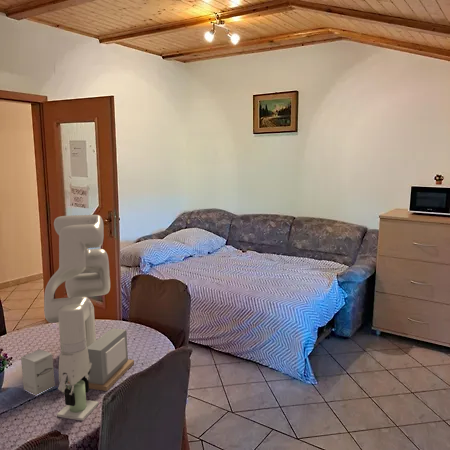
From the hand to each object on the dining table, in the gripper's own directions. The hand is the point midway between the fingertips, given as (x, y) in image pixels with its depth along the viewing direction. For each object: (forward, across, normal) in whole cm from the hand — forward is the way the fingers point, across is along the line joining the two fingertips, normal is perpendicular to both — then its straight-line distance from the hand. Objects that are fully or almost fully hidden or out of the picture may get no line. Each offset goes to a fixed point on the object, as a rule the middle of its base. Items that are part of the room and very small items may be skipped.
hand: (77, 397), depth 133 cm
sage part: (+3, 0, 0) cm, 3 cm away
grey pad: (+4, 0, 0) cm, 4 cm away
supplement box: (+4, -8, -20) cm, 22 cm away
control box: (+4, -22, -2) cm, 22 cm away
